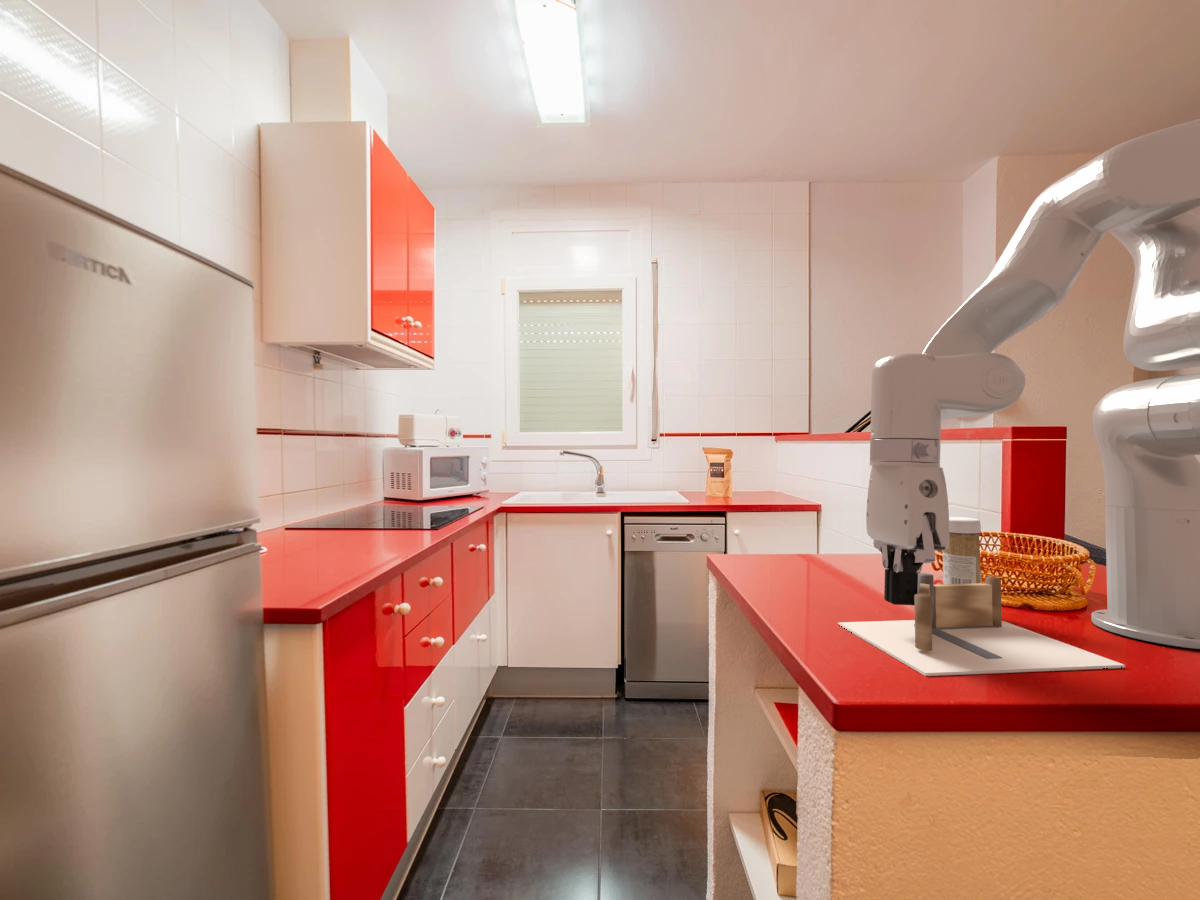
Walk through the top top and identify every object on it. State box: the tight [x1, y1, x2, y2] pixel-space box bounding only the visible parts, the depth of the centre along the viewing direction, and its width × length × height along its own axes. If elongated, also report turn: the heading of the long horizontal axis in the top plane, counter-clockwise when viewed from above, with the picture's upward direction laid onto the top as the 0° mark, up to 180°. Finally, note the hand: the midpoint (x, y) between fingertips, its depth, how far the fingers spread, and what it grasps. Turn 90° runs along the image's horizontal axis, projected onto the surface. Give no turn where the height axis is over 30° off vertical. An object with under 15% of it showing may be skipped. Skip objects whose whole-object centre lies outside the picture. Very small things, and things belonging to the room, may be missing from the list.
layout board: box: [837, 619, 1126, 677], centre depth 60 cm, size 22×16×1 cm
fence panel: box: [914, 583, 932, 651], centre depth 60 cm, size 9×2×6 cm, turn 146°
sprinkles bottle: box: [942, 516, 982, 584], centre depth 72 cm, size 5×5×13 cm
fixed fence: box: [918, 572, 1003, 629], centre depth 65 cm, size 11×2×7 cm, turn 95°
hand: (900, 602), depth 63 cm, fingers closed
